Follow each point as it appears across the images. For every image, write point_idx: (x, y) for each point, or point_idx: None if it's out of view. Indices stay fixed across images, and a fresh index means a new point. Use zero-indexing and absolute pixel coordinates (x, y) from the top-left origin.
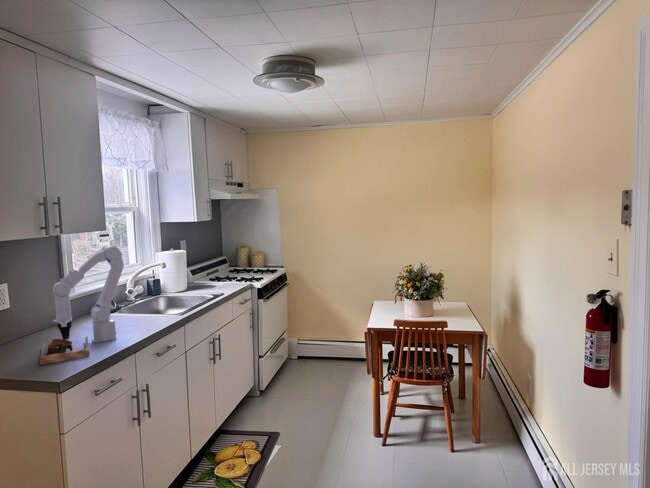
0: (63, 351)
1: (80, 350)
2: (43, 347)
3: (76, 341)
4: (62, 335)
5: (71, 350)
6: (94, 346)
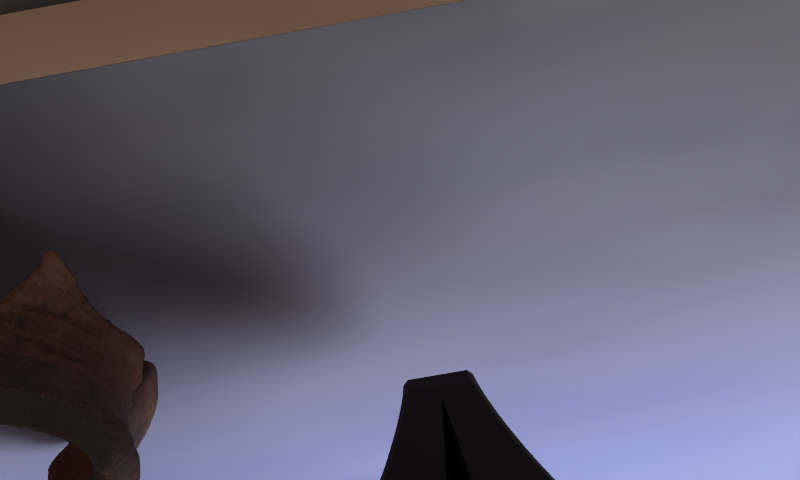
0: None
1: None
2: (111, 20)
3: (672, 385)
4: (395, 458)
5: (48, 471)
6: None
